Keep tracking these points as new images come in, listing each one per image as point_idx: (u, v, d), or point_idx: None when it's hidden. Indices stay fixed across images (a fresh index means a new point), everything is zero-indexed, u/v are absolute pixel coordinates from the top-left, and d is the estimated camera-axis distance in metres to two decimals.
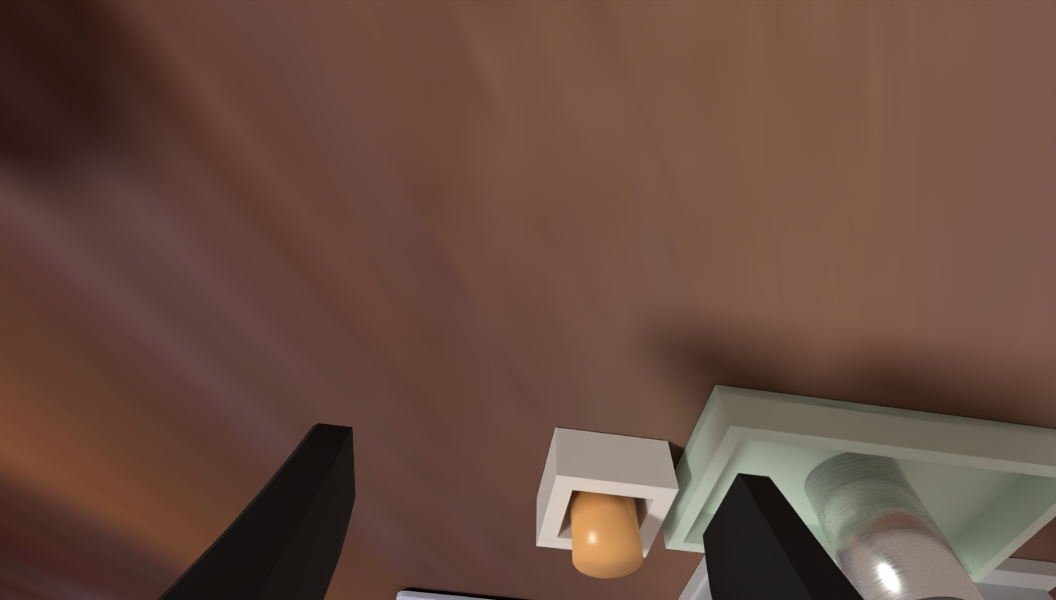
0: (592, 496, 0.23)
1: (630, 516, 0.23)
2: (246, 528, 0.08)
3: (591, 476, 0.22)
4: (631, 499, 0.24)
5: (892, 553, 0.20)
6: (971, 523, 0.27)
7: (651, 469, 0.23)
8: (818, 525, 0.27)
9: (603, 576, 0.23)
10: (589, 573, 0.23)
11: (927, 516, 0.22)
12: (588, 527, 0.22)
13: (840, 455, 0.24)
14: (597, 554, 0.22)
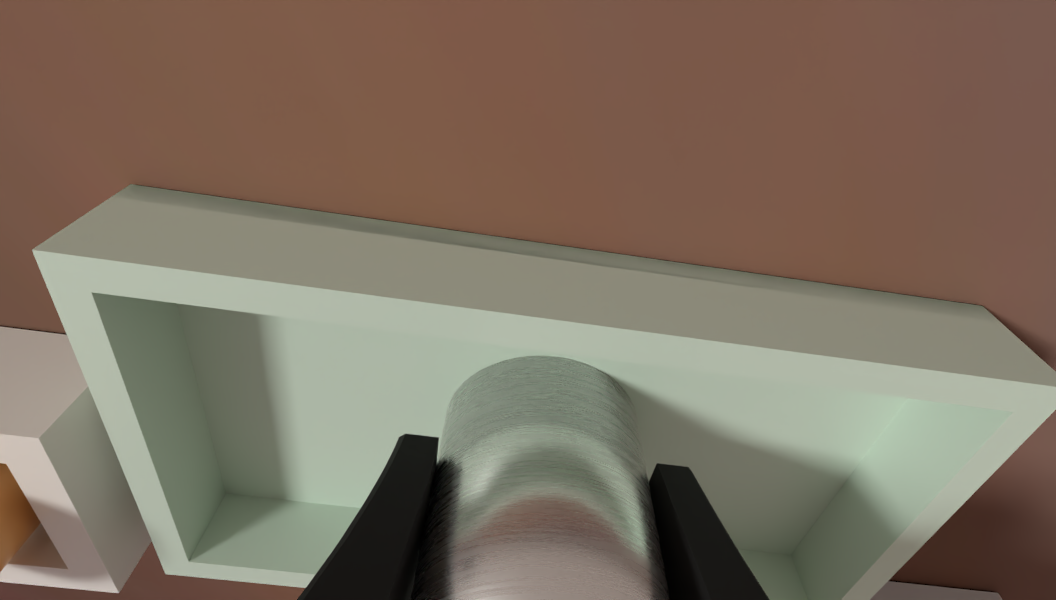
0: None
1: None
2: (360, 540, 0.08)
3: None
4: None
5: None
6: (817, 520, 0.13)
7: (14, 394, 0.10)
8: None
9: None
10: None
11: (611, 501, 0.08)
12: None
13: (490, 369, 0.11)
14: None
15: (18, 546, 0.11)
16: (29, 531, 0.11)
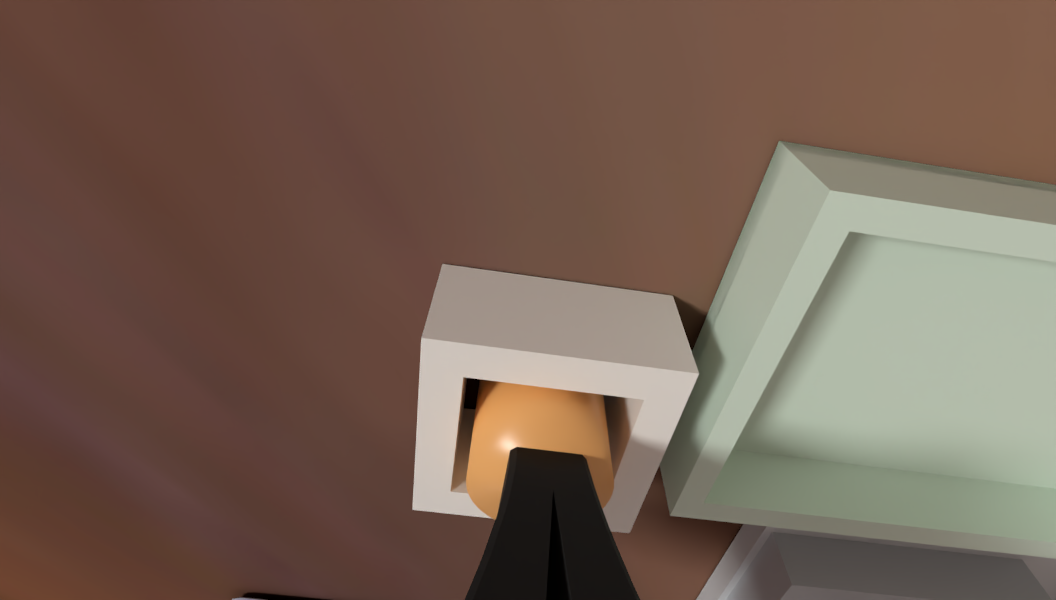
0: None
1: (588, 400, 0.11)
2: (504, 555, 0.08)
3: (503, 343, 0.10)
4: None
5: None
6: None
7: (638, 337, 0.11)
8: (952, 475, 0.15)
9: None
10: None
11: None
12: (497, 418, 0.11)
13: None
14: None
15: None
16: None
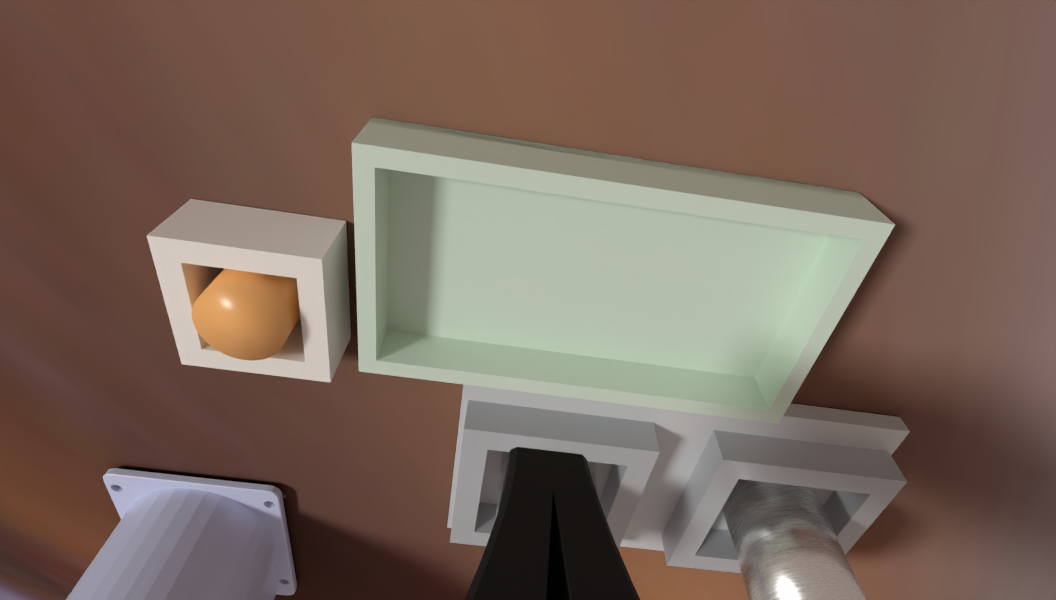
0: None
1: (277, 277, 0.18)
2: (504, 555, 0.08)
3: (199, 240, 0.16)
4: None
5: None
6: (770, 347, 0.21)
7: (297, 240, 0.17)
8: (577, 354, 0.21)
9: (247, 357, 0.18)
10: (228, 352, 0.18)
11: None
12: (211, 283, 0.17)
13: None
14: (221, 317, 0.17)
15: None
16: None
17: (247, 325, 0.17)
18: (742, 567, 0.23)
